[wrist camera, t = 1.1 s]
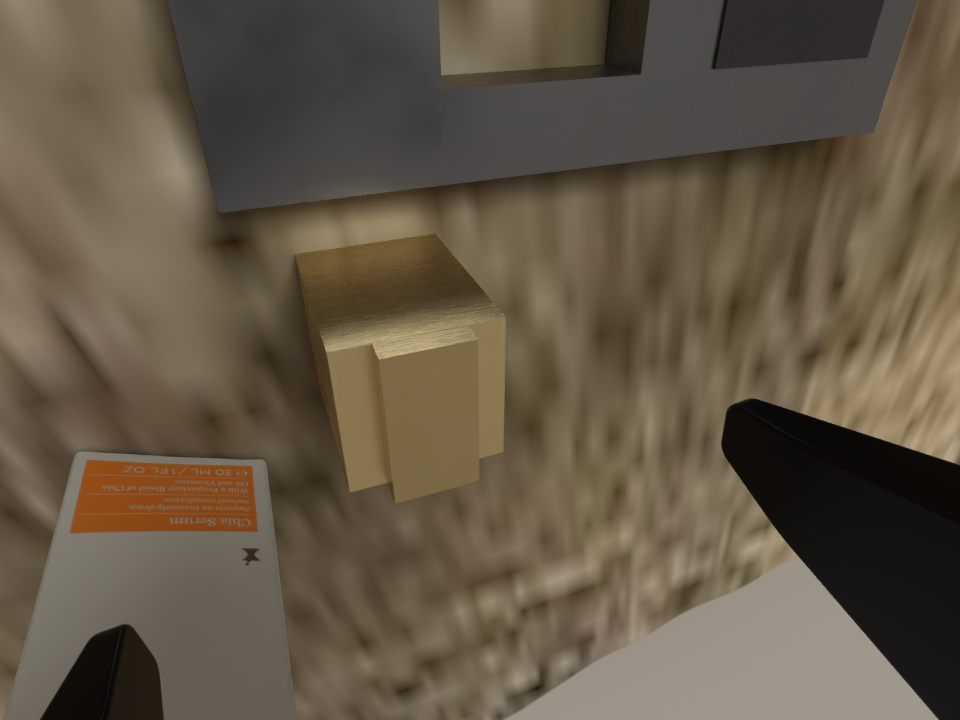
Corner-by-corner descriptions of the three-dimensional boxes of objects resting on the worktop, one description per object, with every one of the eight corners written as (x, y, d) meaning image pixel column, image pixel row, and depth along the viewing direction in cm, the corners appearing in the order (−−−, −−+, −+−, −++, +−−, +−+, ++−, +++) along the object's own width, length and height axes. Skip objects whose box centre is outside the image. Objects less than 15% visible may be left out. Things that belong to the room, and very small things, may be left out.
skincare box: (267, 453, 23) (318, 810, 13) (246, 540, 24) (278, 910, 15) (68, 444, 20) (-49, 892, 10) (60, 543, 21) (-46, 1004, 12)
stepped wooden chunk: (435, 232, 20) (518, 331, 15) (440, 351, 23) (514, 471, 18) (294, 252, 19) (332, 369, 14) (316, 376, 22) (355, 514, 16)
